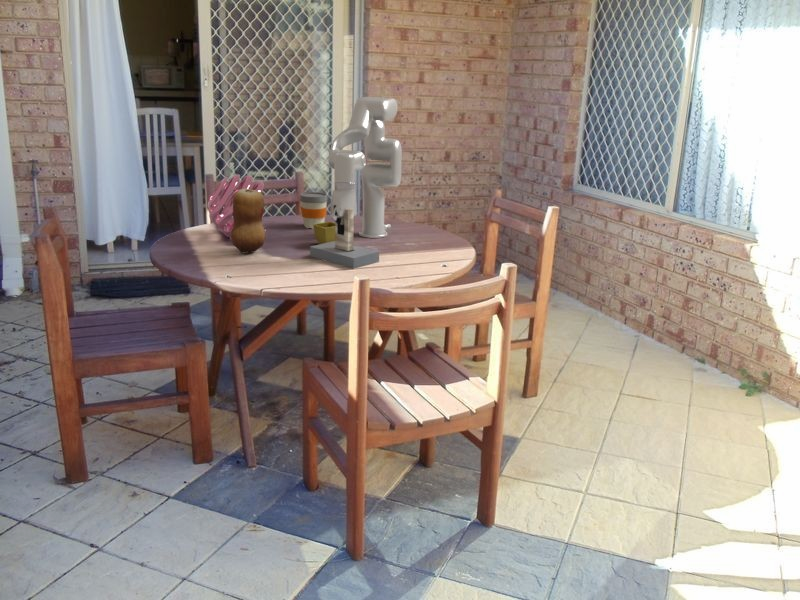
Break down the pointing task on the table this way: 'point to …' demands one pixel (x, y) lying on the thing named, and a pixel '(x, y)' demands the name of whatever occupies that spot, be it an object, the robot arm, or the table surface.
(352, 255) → the grey slotted tile
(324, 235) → the flower pot
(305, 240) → the table surface
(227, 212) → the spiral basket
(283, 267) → the table surface
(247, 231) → the butternut squash
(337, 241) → the pine slat
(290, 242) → the table surface
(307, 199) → the reusable coffee cup
